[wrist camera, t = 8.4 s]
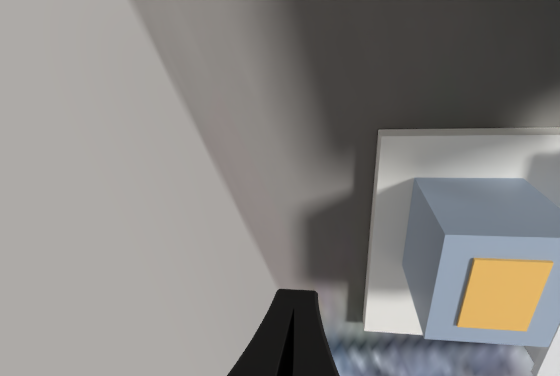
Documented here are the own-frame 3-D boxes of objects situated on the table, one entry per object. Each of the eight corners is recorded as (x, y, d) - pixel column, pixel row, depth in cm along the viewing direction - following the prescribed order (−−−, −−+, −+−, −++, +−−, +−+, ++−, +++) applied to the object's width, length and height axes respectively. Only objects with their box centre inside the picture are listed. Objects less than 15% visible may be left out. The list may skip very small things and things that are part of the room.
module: (495, 268, 17) (550, 350, 13) (402, 264, 17) (424, 341, 13) (523, 178, 14) (600, 241, 10) (414, 177, 15) (446, 236, 11)
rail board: (553, 329, 19) (592, 383, 16) (362, 317, 21) (368, 364, 18) (644, 126, 14) (727, 154, 11) (378, 129, 15) (390, 154, 12)
